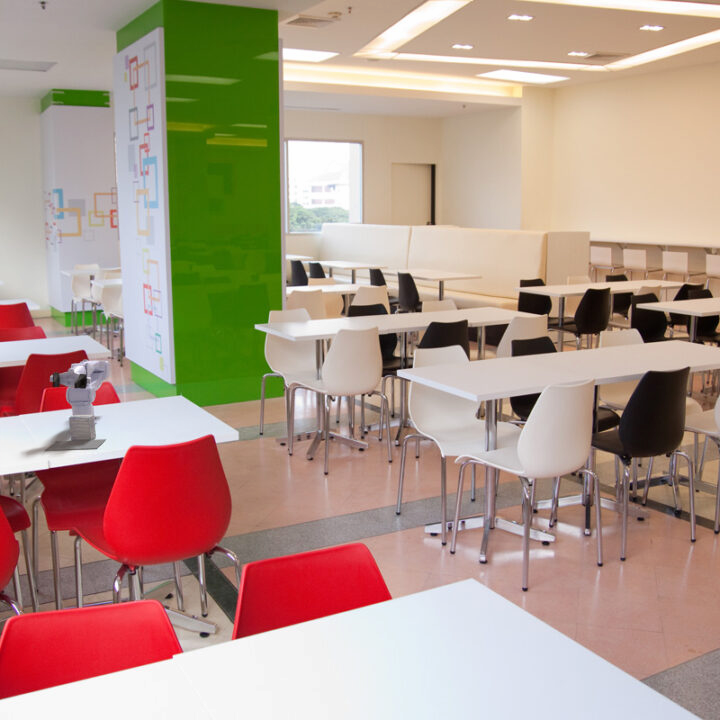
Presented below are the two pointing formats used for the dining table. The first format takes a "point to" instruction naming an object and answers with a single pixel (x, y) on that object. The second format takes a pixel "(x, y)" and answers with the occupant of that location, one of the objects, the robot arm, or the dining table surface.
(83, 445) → the mat
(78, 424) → the medicine box
